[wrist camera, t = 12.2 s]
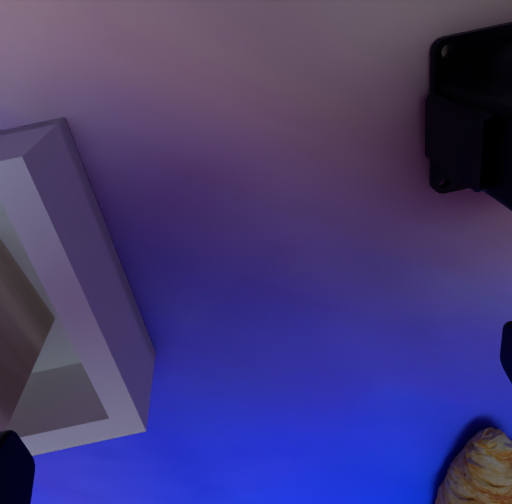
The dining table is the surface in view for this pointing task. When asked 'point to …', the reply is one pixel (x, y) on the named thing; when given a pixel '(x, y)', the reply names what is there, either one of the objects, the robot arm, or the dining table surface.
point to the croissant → (480, 471)
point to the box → (71, 298)
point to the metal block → (18, 332)
